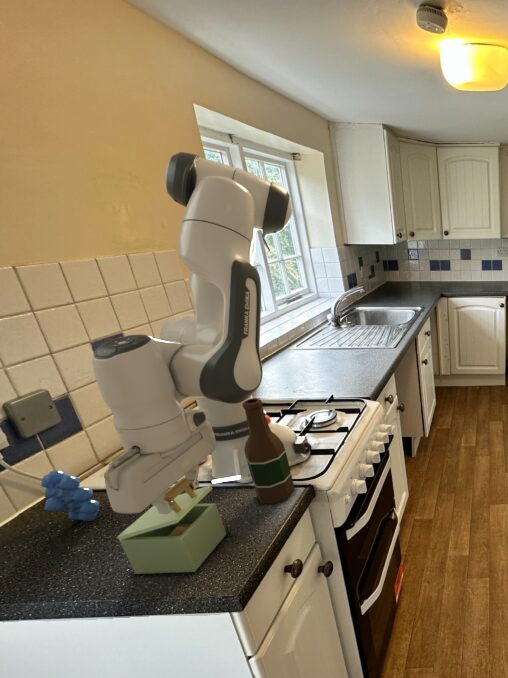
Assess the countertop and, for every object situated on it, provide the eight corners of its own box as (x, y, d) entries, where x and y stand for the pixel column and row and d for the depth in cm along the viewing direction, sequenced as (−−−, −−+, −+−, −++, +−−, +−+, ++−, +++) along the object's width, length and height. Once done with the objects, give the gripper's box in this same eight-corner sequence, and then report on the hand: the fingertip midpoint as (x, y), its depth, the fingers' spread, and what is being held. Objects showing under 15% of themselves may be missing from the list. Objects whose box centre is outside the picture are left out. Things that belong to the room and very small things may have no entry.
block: (209, 540, 81) (203, 522, 79) (195, 557, 77) (187, 539, 75) (187, 541, 81) (180, 523, 79) (170, 558, 77) (163, 540, 75)
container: (226, 534, 84) (215, 503, 81) (194, 572, 75) (181, 539, 72) (173, 535, 83) (160, 504, 80) (134, 574, 74) (119, 540, 71)
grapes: (36, 528, 85) (9, 480, 81) (75, 507, 91) (52, 461, 87) (78, 537, 83) (53, 488, 78) (115, 515, 89) (93, 468, 84)
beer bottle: (279, 480, 100) (255, 391, 91) (302, 488, 98) (280, 396, 88) (249, 499, 94) (221, 405, 84) (274, 508, 91) (247, 411, 82)
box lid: (212, 488, 79) (198, 468, 77) (177, 522, 70) (160, 501, 69) (161, 504, 80) (145, 485, 78) (119, 540, 71) (100, 519, 70)
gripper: (123, 467, 60) (155, 541, 65) (212, 406, 78) (231, 467, 84) (78, 468, 59) (113, 542, 65) (178, 406, 78) (199, 468, 83)
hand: (180, 499), depth 74 cm, fingers closed on box lid, 5 cm apart
